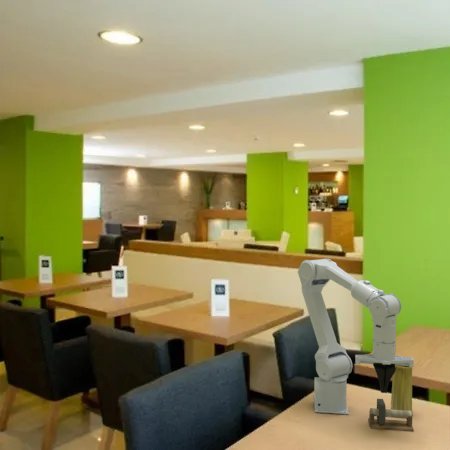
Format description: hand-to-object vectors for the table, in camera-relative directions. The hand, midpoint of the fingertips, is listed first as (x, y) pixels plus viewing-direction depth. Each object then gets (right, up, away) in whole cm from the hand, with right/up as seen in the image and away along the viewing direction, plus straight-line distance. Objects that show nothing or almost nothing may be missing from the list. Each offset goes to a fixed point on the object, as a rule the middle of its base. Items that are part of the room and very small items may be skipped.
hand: (383, 391), depth 131 cm
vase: (+9, -10, +11) cm, 18 cm away
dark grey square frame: (0, -9, +3) cm, 10 cm away
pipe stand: (+3, -10, +3) cm, 11 cm away
